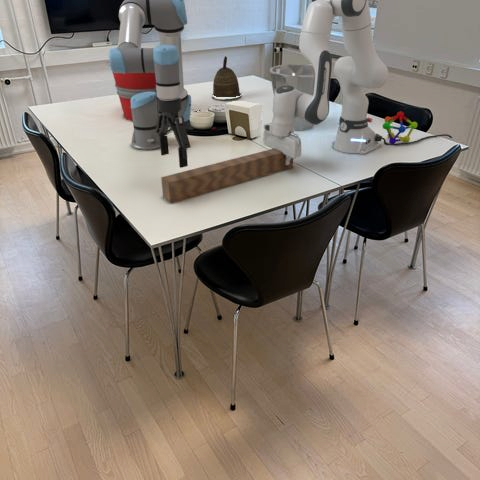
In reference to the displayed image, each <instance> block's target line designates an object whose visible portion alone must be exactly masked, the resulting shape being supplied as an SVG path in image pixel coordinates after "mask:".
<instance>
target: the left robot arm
mask: <svg viewBox="0 0 480 480" xmlns="http://www.w3.org/2000/svg"><path fill="white" fill-rule="evenodd" d="M118 18H119V22H120V23H119V24H120V25H119V34H118V41H117V47H115V48H110V49H109V50H108V61H109V62H110V63H109V62H108V63H109V65H110V66H109V67H110V70H111V72H112V73H113V72H114V73H123V74H125V73H155V76H156V90H157V94H156V92H143V93H139V94H136V95H134V96H133V97H132V98H131V110H132V118H133V121H132V125H133V132H132V135H131V147H132V148H134V149H135V150H141V151H151V150H153V151H154V150H157V149H160V155H161V156H166V155H169V154H170V151H169V140H168V139H169V137H168V133H170V132H171V131H172V132H173V135H174V138H175V140H176V142H177V145H178V147H177V151H178V163H179V164H178V165H179V168H180V169H181V168H185V167H188V166H189V164H188V163H189V162H188V149H190V148H191V143H190V138H189V135H188V131H187V129H186V125H185V122H188V121H189V120H190V118H191V114H190V113H191V112H192V95H191V94H188V90H187V89H186V88H185V84H184V83H185V82H184V70H183V69H184V68H183V54H182V53H183V51H182V38H181V37H182V35H181V33H182V32H183V31H185V26H186V25H187V24H188V16H187V10H186V5H185V0H123V1H122V3H121V5H120V6H119V9H118ZM144 25H149V26H150V25H152V26H154V31H155V32H156V33H158V38H159V39H158V40H159V45H155V46H154V47H142V34H143V26H144ZM198 110H199V111H200V112H201V109H198Z"/></svg>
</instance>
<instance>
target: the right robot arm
mask: <svg viewBox="0 0 480 480" xmlns="http://www.w3.org/2000/svg"><path fill="white" fill-rule="evenodd" d="M336 17H341V28H342V29H341V30H342V39H343V47H344V49H345V51H346V52H347V53H348V54H349V55H347V56H346V55H345V56H341V57H339V58H338V59H337V60H336V61H335V63H334V66H333V57H332V54H331V52H330V39H331V35H332V28H333V21H334V19H335V18H336ZM371 17H372V16H371V10H370V5H369V1H368V0H311V2H310V3H309V4H308V6H307V8H306V11H305V14H304V17H303V21H302V25H301V29H300V34H299V39H298V48H299V49H298V50H299V51H300V53H301V55H302V57H304V59H306V60H307V62H309V63H310V65H312V66H313V67H314V70H315V85H314V95H313V96H312V95H309V94H307V93H304V92H300V91H298V90H296V89H295V88H294V87H293V86H289V85H287V86H281V87H279V88H277V89H276V91H275V94H273V98H272V99H273V100H272V115H273V116H272V120H271V122H268V123H265V124H263V130H264V131H263V139H262V140H263V144H264V146H266V147H268V148H269V149H277V150H279V151H281V152H283V154H285V155H286V157H287V158H286V160H284V164H285V165H289V163H290V159H291V158H293V160H294V159H298V158H300V157H302V141H301V140H302V139H301V138H300V136H299V135H298V134H297V133H295V130H294V123H295V120H294V119H295V118H296V117H298V118H301V119H303V120H306V121H308V122H309V123H311V124H313V125H314V126H317V125H320V124H321V123H323V122H324V121H326V119H327V118H328V117H329V113H330V89H331V80H332V79H331V78H332V71H333V75H334V77H335V79H336V80H337V81H338V84H339V86H340V90H341V96H342V102H341V103H342V104H341V114H340V116H339V121H338V127H337V131H336V135H335V139H334V140H333V144H334V145H333V149H335V150H336V151H338V152H341V153H347V154H360V155H365V154H367V153H370V152H372V151H373V150H376V149H378V148H380V147H381V144H380V142H382V140H383V144H384V145H385V146H401V145H410V144H415V143H418V142H420V141H423V140H426V139H430V138H438V137H449V138H450V139H453V137H452V135H451V134H447V133H446V134H445V133H443V134H436V135H429V136H425V137H421V138H419V139H417V140H413V141H409V142H398V143H397V142H396V143H395V144H390V143H388V142H387V141H386V138H384V137H383V136H382V135H381V134H379V133H376V132H375V131H374V130H373V129H372V128H371V127H370V126H369V124H368V123H370V124H372V122H373V118H371V117H367V115H368V110H369V104H370V103H369V98H368V96H367V95H366V94H365V93H364V90H363V88H364V89H371V90H372V89H374V90H375V89H376V90H377V89H380V88H382V87H383V86H384V85H385V84H386V82H387V81H388V77H389V70H388V69H389V68H388V66H387V65H386V64H385V63H384V62H383V61H382V60H381V58H380V56H379V55H378V53H377V51H376V48H375V45H374V41H373V32H372V18H371ZM332 69H333V70H332ZM313 125H312V126H313Z"/></svg>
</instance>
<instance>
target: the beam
mask: <svg viewBox="0 0 480 480" xmlns="http://www.w3.org/2000/svg"><path fill="white" fill-rule="evenodd" d="M286 158H287V157H286V155H285V154H283V152H281V151H279V150H277V149H272V148H269V149H267V150H263V151H262V150H261V151H258V152H255V153H251V154H247V155H243V156H238V157H235V158H231V159H228V160H227V159H226V160H223V161H220V162H215V163H211V164H207V165H204V166H199V167H195V168H193V169H188V170H184V171H181V172H175V173H172V174H168V175H165V176H161V188H162V198H163V199H165V200H166V201H167V202H168V203H169V204H172V203H177V202H179V201H180V202H181V201H183V200H187V199H190V198H194V197H196V196H200V195H204V194H208V193H210V192H214V191H218V190H220V189H223V188H228V187H230V186H234V185H238V184H242V183H246V182H248V181H251V180H255V179H259V178H262V177H265V176H269V175H271V174H275V173H279V172H282V171H286V170H289V169H293V167H294V158H291V159H290V163H289V165H285V164H284V160H286Z"/></svg>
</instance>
